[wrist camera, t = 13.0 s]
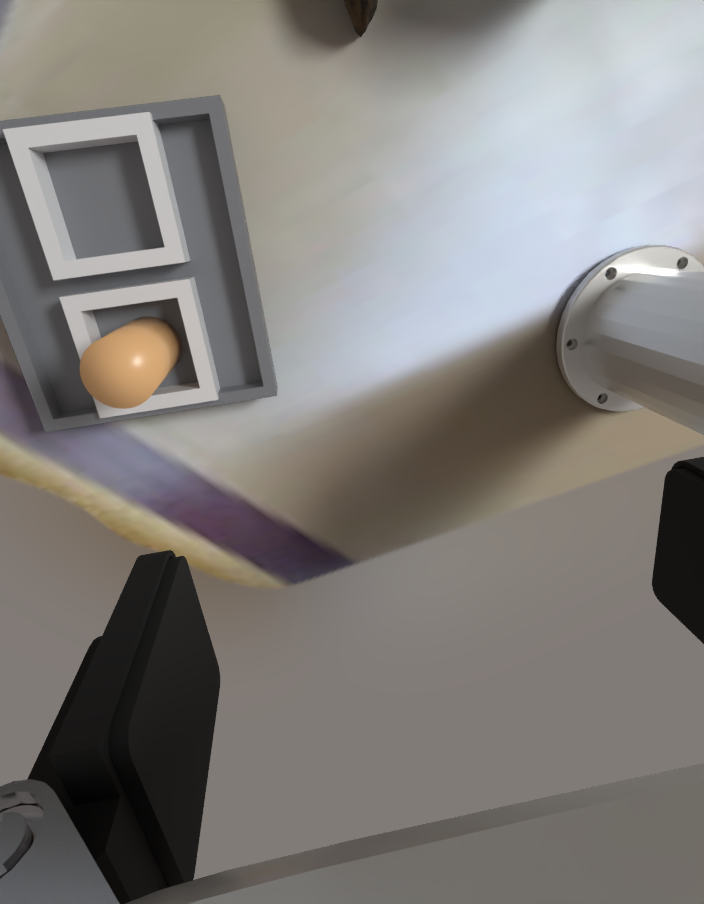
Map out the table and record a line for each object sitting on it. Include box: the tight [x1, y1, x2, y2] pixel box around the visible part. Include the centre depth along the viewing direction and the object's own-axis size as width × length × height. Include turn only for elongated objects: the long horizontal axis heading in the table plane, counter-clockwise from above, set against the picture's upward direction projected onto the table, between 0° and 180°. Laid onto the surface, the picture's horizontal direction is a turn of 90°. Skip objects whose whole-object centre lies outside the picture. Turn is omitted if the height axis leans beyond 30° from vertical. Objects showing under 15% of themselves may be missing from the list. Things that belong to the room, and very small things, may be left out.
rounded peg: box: [80, 316, 182, 409], centre depth 32 cm, size 4×4×8 cm
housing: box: [0, 95, 277, 432], centre depth 34 cm, size 16×18×3 cm
